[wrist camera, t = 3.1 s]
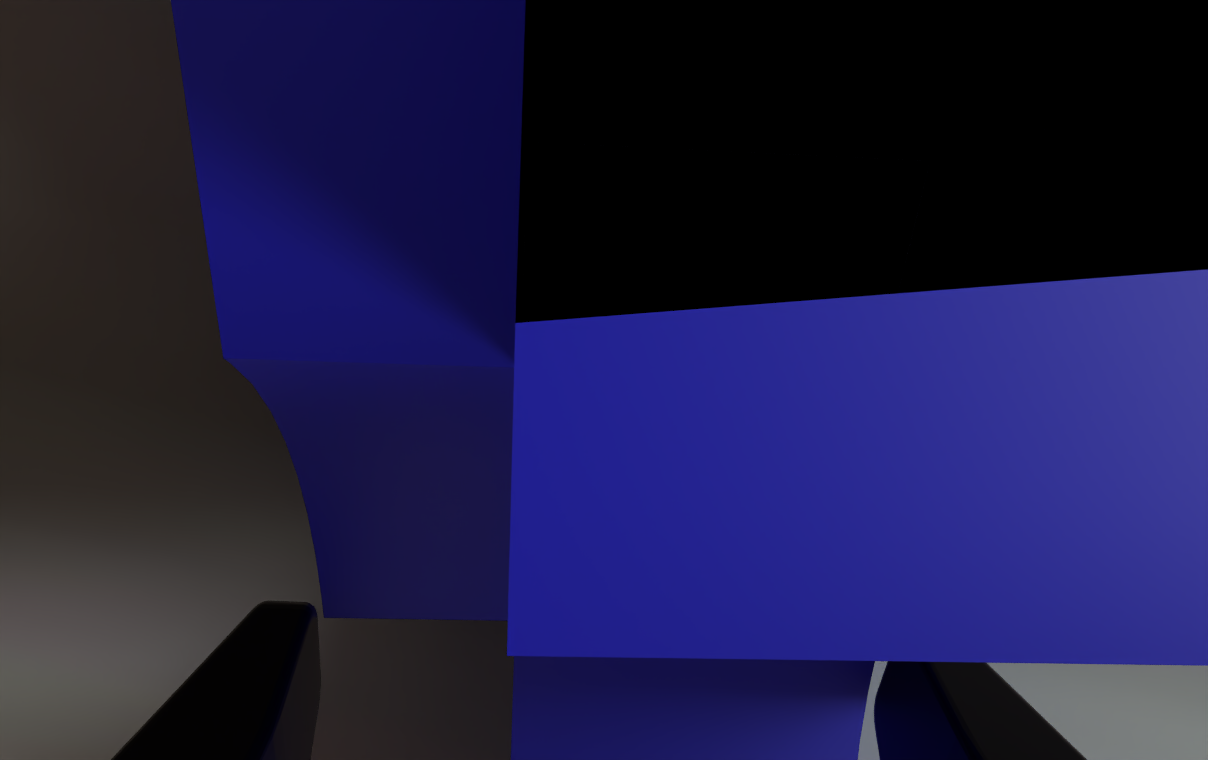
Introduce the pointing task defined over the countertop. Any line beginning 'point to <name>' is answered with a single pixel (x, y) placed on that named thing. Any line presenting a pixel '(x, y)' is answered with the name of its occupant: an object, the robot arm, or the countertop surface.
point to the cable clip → (727, 347)
